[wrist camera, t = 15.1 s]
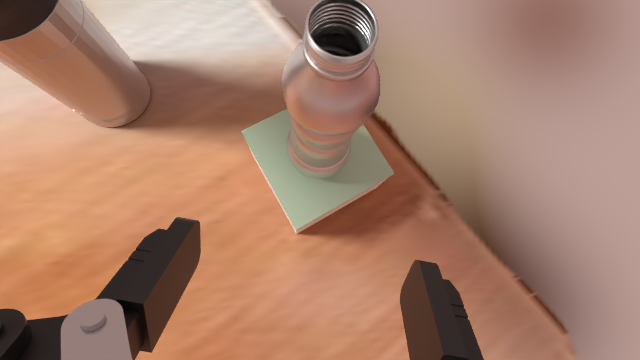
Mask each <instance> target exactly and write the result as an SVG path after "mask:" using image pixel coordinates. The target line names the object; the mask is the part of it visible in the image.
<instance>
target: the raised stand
mask: <svg viewBox="0 0 640 360" xmlns="http://www.w3.org/2000/svg"><path fill="white" fill-rule="evenodd" d="M291 124H292V122H291V117H290V114H289V112H288V109H287V108H286V109H284V110H282V111H280V112H278V113H276V114H274V115H272V116H270V117H268V118H266V119H264V120H262V121H260V122H258V123H256V124H254V125H252V126H250V127H248V128H246V129H244V130H242V131H241V132H242V134H243V136H244V138H245V140H246V142H247V144H248V146H249V148H250V151H251V153H252V155H253V157H254V159H255V161H256V162H257V164H258V166H259V168H260V170H261V171H262V173H263V175H264V177H265V178H266V180H267V182H268V184H269V186H270V187H271V189H272V191H273V193H274V195H275V196H276V198H277V200H278V202H279V204H280V205H281V207H282V209H283V211H284V212H285V214H286V216H287V218H288V220H289V221H290V223H291V225H292V227H293V229H294V230H295V232H296V234H298V233H299V232H301V231H303V230H305V229H306V228H308V227H310V226H311V225H313V224H315V223H317V222H318V221H320V220H322V219H324V218H325V217H327V216H329V215H331V214H332V213H334V212H336V211H337V210H339V209H341V208H343V207H344V206H346V205H348V204H350V203H351V202H353V201H355V200H357V199H358V198H360V197H362V196H363V195H365V194H367V193H369V192H370V191H372V190H374V189H376V188H377V187H378V186H379V185H380V184H381V183H383V182H384V181H385V180H386V179H387V178H389V177H390V176H392V175H393V174H395V173H394V171H393V170H392V168H391V167H390V165H389V163H388V162H387V160H386V159H385V157H384V156H383V154H382V153H381V151H380V149H379V148H378V146H377V145H376V143H375V142H374V140H373V138H372V137H371V135H370V134H369V132H368V131H367V129H366V127H365V126H364V124H363V125H362V126H361V127H360V128H359V129H358V130H357V131H356V132H355V133H354V135H353V136H352V138H351V150H350V155H349V158H348V161H347V163H346V164H345V166H344V167H343V168H342V169H341V170H340V171H339V172H338V173H336V174H334V175H332V176H330V177H327V178H323V179H315V178H310V177H307V176H305V175H303V174H302V173H300V172H299V171H298V170H297V169H296V168H295V167H294V165H293V164H292V163H291V161H290V159H289V157H288V154H287V148H286V141H287V136H288V133H289V130H290V127H291Z"/></svg>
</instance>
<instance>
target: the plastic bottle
mask: <svg viewBox="0 0 640 360" xmlns="http://www.w3.org/2000/svg"><path fill="white" fill-rule="evenodd" d="M377 38H378V22H377V19H376V17H375V14H374V13H373V11H372V10H371V8H370V7H369V6H368V5H367V4H366V3H364V2H363V1H361V0H318V1H316V2H315V3H314V4H313V5H312V6H311V8H310V10H309V11H308V14H307V17H306V21H305V32H304V35H303V42H302V43H300V44H299V45H298V46H297V47H296V48H295V49H294V50H293V51H292V53H291V55H290V57H289V58H288V60H287V62H286V64H285V67H284V70H283V73H282V82H281V84H282V93H283V97H284V101H285V104H286V107H287V109H288V112H289V114H290V117H291V122H292V124H291V127H290V130H289V133H288V136H287V141H286V148H287V154H288V157H289V159H290V161H291V163H292V164H293V165H294V167H295V168H296V169H297V170H298V171H299V172H300V173H302V174H303V175H305V176H307V177H310V178H315V179H323V178H327V177H330V176H332V175H334V174H336V173H338V172H339V171H340V170H341V169H342V168H343V167H344V166H345V164H346V163H347V161H348V158H349V155H350V150H351V138H352V136H353V135H354V133H355V132H356V131H357V130H358V129H359V128H360V127H361V126H362V125H363V124H364V123H365V122H366V121H367V120H368V118H369V117H370V116H371V114H372V113H373V112H374V110H375V108H376V106H377V104H378V100H379V96H380V76H379V71H378V67H377V65H376V62H375V60H374V59H373V55H374V51H375V50H374V49H375V45H376V42H377Z"/></svg>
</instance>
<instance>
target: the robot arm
mask: <svg viewBox="0 0 640 360" xmlns="http://www.w3.org/2000/svg"><path fill="white" fill-rule="evenodd" d="M0 62H1V63H3V64H4V65H6V66H7V67H9V68H10V69H12V70H13V71H15V72H16V73H18V74H20V75H21V76H23V77H24V78H26V79H27V80H29V81H30V82H32V83H33V84H35V85H36V86H38V87H39V88H41V89H42V90H44V91H45V92H47V93H48V94H50V95H51V96H53V97H54V98H56V99H57V100H59V101H60V102H62V103H63V104H65V105H66V106H68V107H69V108H71V109H72V110H74V111H75V112H77V113H78V114H80V115H81V116H83V117H84V118H86V119H87V120H89V121H90V122H92V123H94V124H96V125H99V126H103V127H118V126H122V125H125V124H128V123H130V122H132V121H133V120H135V119H136V118H138V117H139V116H140V115H141V114H142V113H143V111H144V110H145V109H146V107H147V105H148V103H149V99H150V86H149V82H148V81H147V79H146V77H145V76H144V75H143V73H142V72H141V71H140V70H139V69H138V67H137V66H136V65H135V64H134V63H133V61H132V60H131V59H130V58H129V56H128V55H127V54H126V53H125V52H124V50H123V49H122V48H121V47H120V46H119V44H118V43H117V42H116V41H115V40H114V38H113V37H112V36H111V35H110V33H109V32H108V31H107V30H106V29H105V27H104V26H103V25H102V24H101V23H100V21H99V20H98V19H97V18H96V17H95V15H94V14H93V13H92V12H91V11H90V9H89V8H88V7H87V6H86V5H85V3H84V2H83V1H82V0H0ZM200 252H201V248H200V222H199V221H197V220H191V219H186V218H180V217H177V218H176V219H175V220H174V221H173V222H172V224H171V225H170V227H169V228H168V229H167V230H164V229H157V230H156V231H154V232H153V233H151V234H149V235H148V236H146V237H145V238H144V239H143V240H142V242H141V243H140V244H139V246H138V247H137V248H136V251H134V252H133V253H132V254H131V256H130V257H129V259H128V261H126V262H125V263H124V264H123V266H122V267H121V268H120V269H119V271H118V272H117V273H116V274H115V276H114V277H113V278H112V279H111V281H110V282H109V283H108V284H107V286H106V287H105V288H104V289H103V291H102V292H101V293H100V294H99V296H98V297H97V298H96V299H95V300H92V301H89V302H86V303H84V304H82V305H80V306H79V307H77V308H76V309H74V310H73V311H72V312H71V313H70V314H68V315H65V316H60V317H52V318H43V319H34V320H26V318H25V316H24V315H23V313H21V312H20V311H18V310H14V309H0V360H135V358H136V357H137V355H138V353H139V351H145V352H151V353H152V351H153V349H154V347H155V345H156V343H157V341H158V339H159V338H160V336H161V334H162V332H163V330H164V328H165V326H166V324H167V322H168V321H169V319H170V317H171V315H172V313H173V311H174V309H175V307H176V305H177V304H178V302H179V300H180V298H181V296H182V294H183V292H184V290H185V288H186V287H187V285H188V283H189V281H190V279H191V277H192V275H193V273H194V271H195V269H196V267H197V265H198V262H199V258H200ZM400 304H401V310H402V316H403V322H404V328H405V333H406V339H407V345H408V351H409V357H410V360H484V359H483V356H482V354H481V351H480V348H479V346H478V343H477V340H476V337H475V335H474V332H473V329H472V327H471V324H470V321H469V320H468V316H467V313H466V310H465V309H464V305H463V302H462V300H461V297H460V294H459V292H458V291H457V290H456V288H455V287H454V286H453V284H452V283H451V282H450V281H449V280H445V279H442V276H441V273H440V269H439V267H438V265H437V264H436V263H431V262H426V261H420V260H415V261H414V262H413V264H412V266H411V269H410V271H409V273H408V275H407V277H406V279H405V282H404V284H403V286H402V289H401V294H400Z"/></svg>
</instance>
